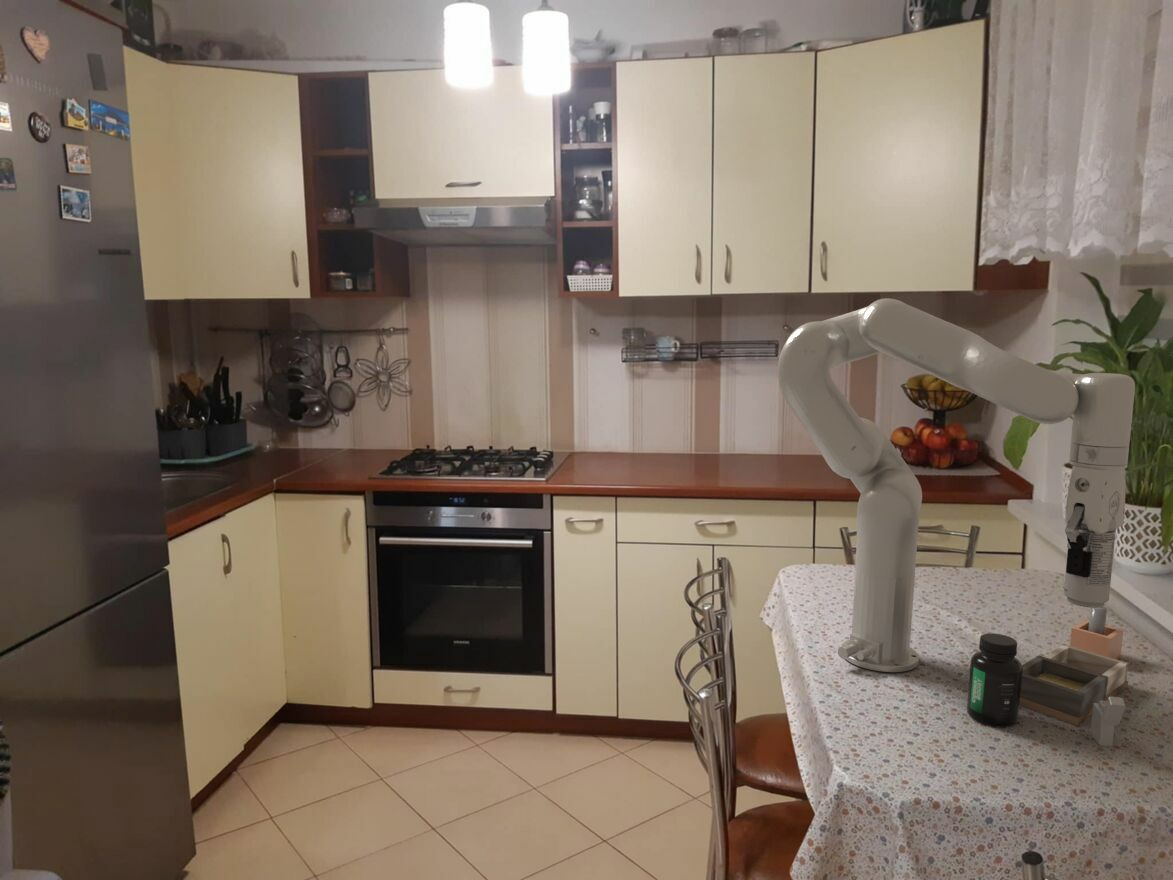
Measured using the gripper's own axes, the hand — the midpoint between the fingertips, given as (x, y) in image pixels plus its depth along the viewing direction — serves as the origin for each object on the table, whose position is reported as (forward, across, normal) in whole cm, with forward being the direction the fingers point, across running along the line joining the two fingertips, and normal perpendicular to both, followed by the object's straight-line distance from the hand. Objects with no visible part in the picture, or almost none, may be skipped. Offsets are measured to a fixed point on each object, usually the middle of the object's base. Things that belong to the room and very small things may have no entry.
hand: (1087, 570), depth 129 cm
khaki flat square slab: (+18, -7, 0) cm, 19 cm away
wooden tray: (+20, -2, 0) cm, 20 cm away
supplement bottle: (+20, -19, +4) cm, 28 cm away
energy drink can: (+5, 0, 0) cm, 5 cm away
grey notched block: (+20, -14, -10) cm, 26 cm away
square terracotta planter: (+20, +17, +4) cm, 26 cm away
